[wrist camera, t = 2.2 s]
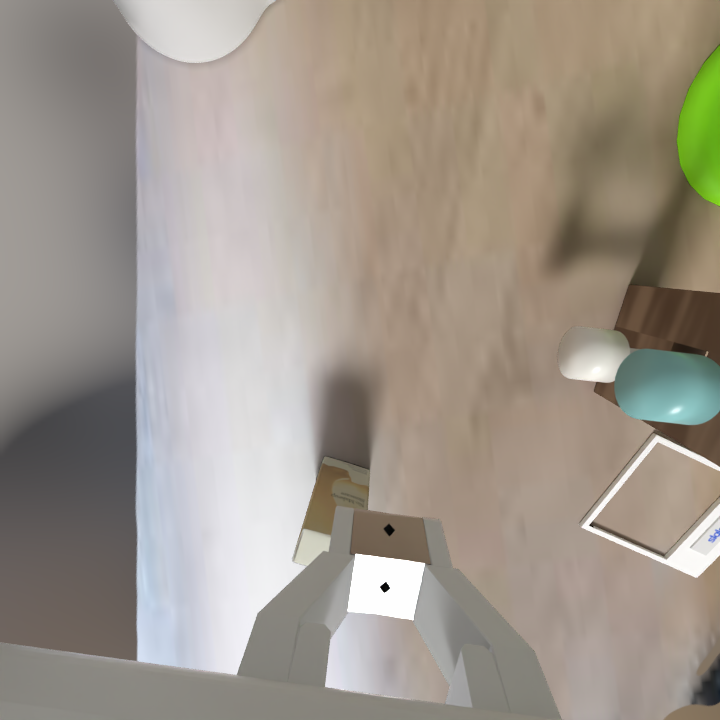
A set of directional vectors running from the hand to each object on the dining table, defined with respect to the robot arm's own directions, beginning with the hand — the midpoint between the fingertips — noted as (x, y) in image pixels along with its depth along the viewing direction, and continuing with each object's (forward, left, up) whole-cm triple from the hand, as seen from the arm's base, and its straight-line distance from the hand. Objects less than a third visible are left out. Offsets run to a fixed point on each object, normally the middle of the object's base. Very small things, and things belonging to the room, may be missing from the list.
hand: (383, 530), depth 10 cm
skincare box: (+19, -2, -29) cm, 35 cm away
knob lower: (-2, +23, -22) cm, 32 cm away
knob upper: (-2, +23, -15) cm, 27 cm away
